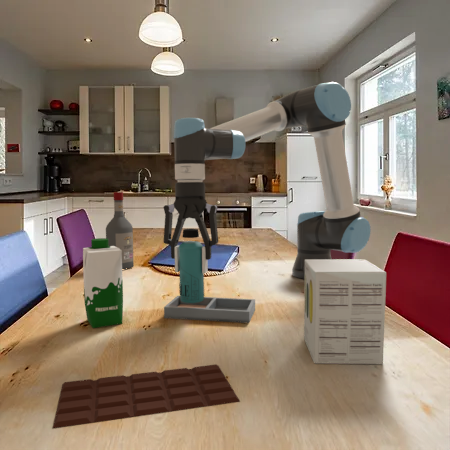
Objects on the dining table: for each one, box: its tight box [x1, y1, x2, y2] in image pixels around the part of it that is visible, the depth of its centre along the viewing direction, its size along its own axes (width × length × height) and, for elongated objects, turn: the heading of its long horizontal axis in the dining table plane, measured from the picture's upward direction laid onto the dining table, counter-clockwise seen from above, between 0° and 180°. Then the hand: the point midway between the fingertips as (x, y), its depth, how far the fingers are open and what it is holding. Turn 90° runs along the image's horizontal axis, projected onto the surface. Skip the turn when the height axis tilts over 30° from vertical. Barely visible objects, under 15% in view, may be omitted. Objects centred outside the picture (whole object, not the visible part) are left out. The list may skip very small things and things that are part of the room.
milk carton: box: [82, 237, 124, 329], centre depth 104 cm, size 9×9×20 cm
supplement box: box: [303, 258, 387, 365], centre depth 86 cm, size 13×13×18 cm
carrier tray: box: [163, 295, 256, 324], centre depth 111 cm, size 21×11×3 cm, turn 79°
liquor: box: [105, 191, 135, 270], centre depth 170 cm, size 9×9×30 cm
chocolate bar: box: [52, 363, 241, 429], centre depth 70 cm, size 27×14×1 cm, turn 105°
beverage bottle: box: [178, 228, 206, 303], centre depth 111 cm, size 6×7×20 cm
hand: (191, 271), depth 111 cm, fingers closed on beverage bottle, 6 cm apart
